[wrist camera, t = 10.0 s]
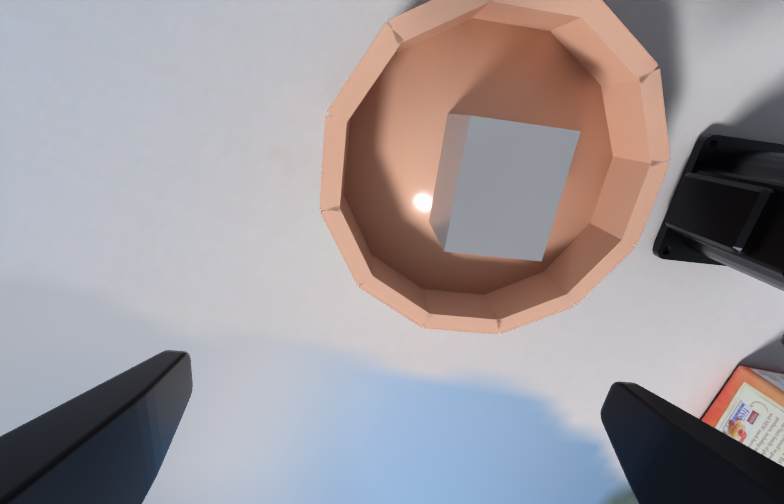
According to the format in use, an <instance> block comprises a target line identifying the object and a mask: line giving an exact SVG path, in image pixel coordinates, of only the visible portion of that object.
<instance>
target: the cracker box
mask: <svg viewBox="0 0 784 504" xmlns="http://www.w3.org/2000/svg"><path fill="white" fill-rule="evenodd" d="M702 421H703V422H705V423H707V424H709V425H711V426H712V427H714V428H716V429H718V430H719V431H721V432H723V433H725V434H726V435H728V436H730V437H732V438H734V439H735V440H737V441H739V442H741V443H742V444H744V445H746V446H748V447H750V448H751V449H753V450H755V451H757V452H758V453H760V454H762V455H764V456H766V457H767V458H769V459H771V460H773V461H774V462H776V463H778V464H780V465H782V466H783V467H784V373H779V372H773V371H768V370H762V369H757V368H751V367H746V366H739V367H738V368H737V369H736V370H735V372H734V373H733V375H732V376H731V378H730V379H729V381H728V382H727V384H726V385H725V387H724V388H723V390H722V391H721V393H720V394H719V396H718V397H717V398H716V400H715V401H714V403H713V404H712V405H711V407H710V408H709V410H708V411H707V413H706V414H705V416H704V417H703V419H702Z"/></svg>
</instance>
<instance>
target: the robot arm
mask: <svg viewBox="0 0 784 504" xmlns="http://www.w3.org/2000/svg"><path fill="white" fill-rule="evenodd" d="M709 142H710V146H709V148H708V149H707V145H708V143H709ZM665 247H666V249H665V250H664V251H663V249H664V248H665ZM662 251H663V252H662ZM653 253H654V255H656V256H658V257H659V258H662V259H668V260H677V261H686V262H696V263H705V264H714V265H723V266H729V267H731V268H733V269H736V270H738V271H740V272H742V273H745V274H747V275H749V276H751V277H754V278H756V279H758V280H760V281H763V282H765V283H767V284H769V285H772V286H774V287H776V288H778V289H781V290H783V291H784V145H781V144H775V143H768V142H761V141H754V140H748V139H741V138H734V137H727V136H721V135H711V134H708V135H704V136H702V137H701V138H700V139H699V140H698V141H697V143H696V145H695V147H694V150H693V152H692V155H691V157H690V159H689V162H688V164H687V167H686V169H685V172H684V174H683V176H682V179H681V181H680V184H679V186H678V188H677V191H676V193H675V196H674V198H673V200H672V203H671V205H670V208H669V210H668V213H667V215H666V217H665V220H664V222H663V225H662V227H661V229H660V232H659V234H658V237H657V239H656V241H655V244H654V246H653ZM781 343H782V344H784V335H783V337H782V339H781ZM192 386H193V385H192V372H191V360H190V355H189V353H187V352H184V351H172V350H166V351H164V352H161V353H159V354H157V355H155V356H154V357H152V358H150V359H148V360H146V361H144V362H142V363H140V364H138V365H136V366H135V367H132V368H131V369H129V370H127V371H125V372H123V373H121V374H119V375H117V376H115V377H113V378H112V379H110V380H108V381H106V382H104V383H102V384H100V385H98V386H96V387H94V388H92V389H90V390H88V391H87V392H85V393H83V394H81V395H79V396H77V397H75V398H73V399H71V400H69V401H67V402H66V403H64V404H62V405H60V406H58V407H56V408H54V409H52V410H50V411H48V412H46V413H44V414H42V415H41V416H39V417H37V418H35V419H33V420H31V421H29V422H27V423H25V424H23V425H22V426H19V427H18V428H16V429H14V430H12V431H10V432H8V433H6V434H4V435H2V436H0V504H142V502H143V501H144V499H145V496H146V495H147V493H148V491H149V490H150V488H151V486H152V483H153V482H154V480H155V478H156V476H157V474H158V472H159V469H160V467H161V465H162V463H163V460H164V458H165V455H166V453H167V451H168V449H169V446H170V444H171V442H172V439H173V437H174V434H175V432H176V430H177V427H178V425H179V422H180V420H181V418H182V415H183V413H184V411H185V408H186V406H187V403H188V401H189V399H190V396H191V393H192ZM601 420H602V423H603V425H604V427H605V430H606V432H607V434H608V437H609V439H610V441H611V444H612V446H613V448H614V450H615V453H616V455H617V457H618V460H619V462H620V464H621V466H622V469H623V471H624V473H625V476H626V478H627V480H628V482H629V485H630V487H631V489H632V491H633V493H634V495H635V497H636V499H637V501H638V503H639V504H784V467H783V466H782V465H780V464H778V463H776V462H774V461H773V460H771V459H769V458H767V457H766V456H764V455H762V454H760V453H758V452H757V451H755V450H753V449H751V448H750V447H748V446H746V445H744V444H742V443H741V442H739V441H737V440H735V439H734V438H732V437H730V436H728V435H726V434H725V433H723V432H721V431H719V430H718V429H716V428H714V427H712V426H711V425H709V424H707V423H705V422H703V421H702V420H700V419H698V418H696V417H695V416H693V415H691V414H689V413H687V412H686V411H684V410H682V409H680V408H679V407H677V406H675V405H673V404H671V403H670V402H668V401H666V400H664V399H663V398H661V397H659V396H657V395H655V394H654V393H652V392H650V391H648V390H647V389H645V388H643V387H641V386H639V385H638V384H635V383H631V382H615V383H614V384H613V385H612V386H611V388H610V390H609V392H608V395H607V397H606V399H605V401H604V404H603V406H602V409H601Z"/></svg>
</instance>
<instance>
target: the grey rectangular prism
mask: <svg viewBox="0 0 784 504" xmlns="http://www.w3.org/2000/svg"><path fill="white" fill-rule="evenodd" d="M580 133H581V131H576V130H569V129H562V128H555V127H548V126H541V125H534V124H527V123H520V122H513V121H506V120H499V119H492V118H485V117H478V116H471V115H459V114H448V115H447V120H446V126H445V132H444V137H443V143H442V149H441V155H440V160H439V166H438V172H437V178H436V183H435V189H434V195H433V201H432V206H431V212H430V218H429V223H430V225H431V227H432V229H433V231H434V233H435V235H436V237H437V238H438V240H439V242H440V244H441V246H442V248H443V250H444V251H446V252H456V253H465V254H475V255H485V256H494V257H504V258H514V259H523V260H533V261H542V259H543V255H544V252H545V249H546V245H547V242H548V239H549V235H550V232H551V229H552V225H553V222H554V219H555V216H556V212H557V209H558V206H559V202H560V199H561V196H562V192H563V189H564V186H565V182H566V179H567V176H568V172H569V169H570V166H571V162H572V159H573V156H574V152H575V149H576V146H577V143H578V139H579V136H580Z"/></svg>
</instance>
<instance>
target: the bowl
mask: <svg viewBox="0 0 784 504" xmlns="http://www.w3.org/2000/svg"><path fill="white" fill-rule="evenodd" d="M657 66H658V64H657V62H656V61H655V60H654V59H653V58H652V57H651V55H650V54H649V53H648V52H647V51H646V50H645V49H644V47H643V46H642V45H641V44H640V43H639V42H638V41H637V39H636V38H635V37H634V36H633V35H632V34H631V33H630V31H629V30H628V29H627V28H626V27H625V26H624V25H623V23H622V22H621V21H620V20H619V19H618V18H617V16H616V15H615V14H614V13H613V12H612V11H611V10H610V8H609V7H608V6H607V5H606V4H605V3H604V2H603V0H430V1H428V2H426V3H424V4H422V5H420V6H418V7H415V8H413V9H411V10H409V11H407V12H405V13H403V14H400V15H398V16H396V17H394V18H392V19H390V20H389V22H388V25H387V24H386V23H385V25H384V26H383V28H382V29H381V31H380V32H379V34H378V35H377V37H376V38H375V40H374V41H373V43H372V44H371V46H370V47H369V49H368V50H367V52H366V53H365V55H364V56H363V58H362V59H361V61H360V62H359V64H358V65H357V67H356V68H355V70H354V71H353V73H352V74H351V76H350V77H349V79H348V80H347V82H346V83H345V85H344V87H343V88H342V90H341V91H340V93H339V94H338V96H337V97H336V99H335V100H334V102H333V103H332V105H331V106H330V108H329V109H328V111H327V112H328V113H329V114H331V115H326V117H325V133H324V149H323V165H322V181H321V197H320V209H322V210H321V215H322V217H323V219H324V221H325V223H326V225H327V227H328V229H329V231H330V233H331V235H332V237H333V238H334V240H335V242H336V244H337V246H338V248H339V250H340V252H341V254H342V256H343V258H344V260H345V262H346V264H347V266H348V268H349V270H350V272H351V274H352V276H353V278H354V280H355V282H356V284H357V285H359V288H361V289H363V290H364V291H366V292H367V293H369V294H370V295H372V296H373V297H375V298H377V299H378V300H380V301H381V302H383V303H384V304H386V305H387V306H389V307H391V308H392V309H394V310H395V311H397V312H398V313H400V314H401V315H403V316H405V317H406V318H408V319H409V320H411V321H412V322H414V323H416V324H417V325H419V326H420V327H423V325H424V328H426V329H438V330H451V331H463V332H475V333H488V334H498V332H500V333H501V334H502V333H505V332H507V331H510V330H513V329H515V328H518V327H521V326H523V325H526V324H529V323H531V322H534V321H537V320H539V319H542V318H545V317H547V316H550V315H553V314H555V313H558V312H561V311H563V310H566V309H569V308H572V307H573V304H572V302H573V303H574V304H575V305H577V304H578V303H579V302H580V301H581V300H582V299H583V298H584V297H585V296H586V295H587V294H588V293H589V292H590V291H591V290H592V289H593V288H594V287H595V286H596V285H597V284H598V283H599V282H600V281H601V280H603V279H604V278H605V277H606V276H607V275H608V274H609V273H610V272H611V271H612V270H613V269H614V268H615V267H616V266H617V265H618V264H619V263H620V262H621V261H622V260H623V259H624V258H625V257H626V256H627V255H628V254H629V253H630V252H631V251H633V250H634V249H635V247H634V246H633V245H632V244H635V245H638V242H639V240H640V237H641V235H642V232H643V230H644V227H645V225H646V222H647V219H648V217H649V214H650V212H651V209H652V207H653V204H654V202H655V199H656V197H657V194H658V192H659V189H660V187H661V184H662V182H663V179H664V177H665V174H666V172H667V169H668V167H669V164H670V163H668V162H665V161H667V160H670V150H669V142H668V133H667V124H666V115H665V107H664V98H663V89H662V81H661V72H660V68H659V69H655V68H656V67H657ZM448 114H459V115H471V116H478V117H485V118H492V119H499V120H506V121H513V122H520V123H527V124H534V125H541V126H548V127H555V128H562V129H569V130H576V131H581V133H580V136H579V139H578V143H577V146H576V149H575V152H574V156H573V159H572V162H571V166H570V169H569V172H568V176H567V179H566V182H565V186H564V189H563V192H562V196H561V199H560V202H559V206H558V209H557V212H556V216H555V219H554V222H553V225H552V229H551V232H550V235H549V239H548V242H547V245H546V249H545V252H544V255H543V259H542V261H533V260H523V259H514V258H504V257H494V256H485V255H475V254H465V253H456V252H446V251H444V250H443V248H442V246H441V244H440V242H439V240H438V238H437V237H436V235H435V233H434V231H433V229H432V227H431V225H430V223H429V218H430V212H431V206H432V201H433V195H434V189H435V183H436V178H437V172H438V166H439V160H440V155H441V149H442V143H443V137H444V132H445V126H446V120H447V115H448Z"/></svg>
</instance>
